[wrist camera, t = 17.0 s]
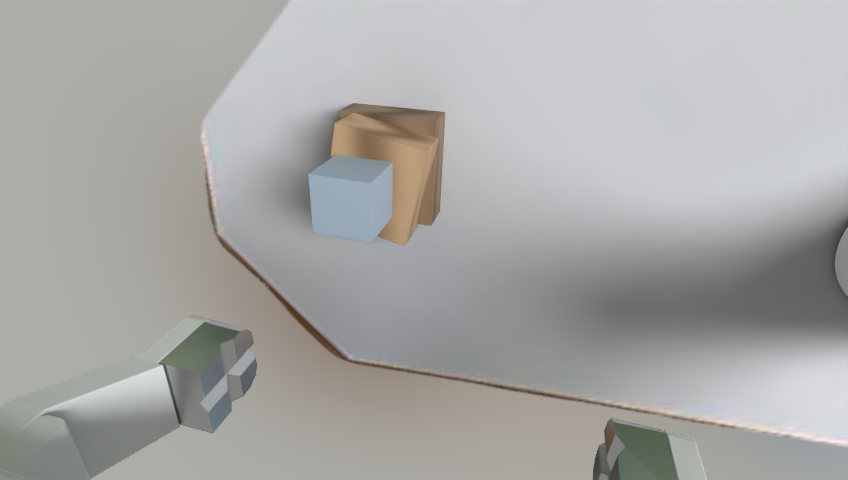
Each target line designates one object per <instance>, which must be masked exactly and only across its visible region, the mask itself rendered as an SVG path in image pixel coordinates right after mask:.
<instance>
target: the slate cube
mask: <svg viewBox="0 0 848 480" xmlns="http://www.w3.org/2000/svg"><path fill="white" fill-rule="evenodd" d="M308 177H309V189H310V202H311V215H312V227H313V233H317V234H323V235H328V236H334V237H339V238H345V239H351V240H356V241H362V242H367V243H372V242H373V240H374V239H375V238H376V237H377V235H378V234H379V233H380V232H381V230H382V229H383V228H384V227H385V225H386V224H387V223H388V222H389V220H390V219H391V218H392V194H393V162H389V161H381V160H374V159H367V158H360V157H352V156H345V155H338V154H337V155H335V156H334V157H332V158H331V159H329V160H328V161H326V162H325V163H323V164H322V165H321V166H319V167H318V168H316V169H315V170H313V171H312V172H310V173H309V174H308Z"/></svg>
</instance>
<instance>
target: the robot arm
mask: <svg viewBox="0 0 848 480" xmlns="http://www.w3.org/2000/svg"><path fill="white" fill-rule="evenodd" d="M835 272H836V277H837V280H838V282H839V285H840V287H841V288H842V290H843V292H844V293H845V294H846V295H847V297H848V227H847V228H846V230H845V232H844V233H843V235H842V237H841V239H840V242H839V244H838V247H837V251H836V256H835ZM252 345H253V337H252V332H251V331H249V330H247V329H243V328H240V327H236V326H232V325H229V324H225V323H221V322H218V321H214V320H209V319H205V318H202V317H198V316H194V315H193V316H189V317H186V318H185V319H184V320H183V321H181V322H180V323H179V324H178V325H177V326H175V327H174V328H173V329H172V330H171V331H169V332H168V333H167V334H166V335H165V336H163V337H162V338H161V339H160V340H159V341H157V342H156V343H155V344H154V345H153V346H151V347H150V348H149V349H148V350H147V351H145V352H144V353H143V354H142V355H141V356H139V357H138V358H136V357H129V358H127V359H124V360H121V361H118V362H115V363H112V364H109V365H107V366H104V367H101V368H98V369H95V370H92V371H90V372H87V373H84V374H81V375H78V376H76V377H73V378H70V379H67V380H64V381H61V382H59V383H56V384H53V385H50V386H47V387H44V388H42V389H39V390H36V391H33V392H30V393H28V394H25V395H22V396H19V397H16V398H14V399H11V400H9V401H7V402H6V403H5V404H3V405H2V406H0V480H91V478H92V477H94V476H96V475H98V474H99V473H101V472H103V471H104V470H106V469H108V468H109V467H111V466H113V465H115V464H117V463H118V462H120V461H122V460H123V459H125V458H127V457H129V456H130V455H132V454H134V453H135V452H137V451H139V450H141V449H142V448H144V447H146V446H148V445H149V444H151V443H153V442H154V441H156V440H158V439H159V438H161V437H163V436H164V435H166V434H168V433H170V432H171V431H173V430H175V429H177V428H178V427H179V426H180V425H184V426H187V427H191V428H195V429H198V430H202V431H206V432H210V433H214V431H215V430H216V429H217V428H218V427H219V425H220V424H221V423H222V422H223V421H224V419H225V418H226V417H227V416H228V414H229V413H230V412H231V411H232V410H231V409H232V408H231V407H232V401H234V400H237V399H239V398H240V397H243V396H244V395H245V393H246V392H247V391H248V390H249V388H250V387H251V385H252V382H253V380H254V378H255V376H256V369H257V362H256V357H255V356H254V354H253V353H252V352H251V351H250V349H249V348H250V347H251V346H252ZM179 424H180V425H179ZM604 432H605V443H603V444H601V445H599V447H598V450H597V454H596V457H595V463H594V469H593V480H707V478H706V475H705V471H704V468H703V465H702V461H701V458H700V454H699V451H698V448H697V445H696V442H695V440H694V439H693V438H692V437H691V436H687V435H682V434H678V433H674V432H670V431H665V430H664V431H663V430H661V429H656V428H652V427H648V426H643V425H639V424H635V423H631V422H627V421H622V420H618V419H614V418H610V420H609V421H608V422H607V425H606V428H605V431H604Z"/></svg>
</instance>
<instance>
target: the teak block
mask: <svg viewBox="0 0 848 480" xmlns="http://www.w3.org/2000/svg"><path fill="white" fill-rule="evenodd" d="M437 143H438V138H435V137H431V136H428V135H425V134H422V133H418V132H415V131H412V130H409V129H405V128H402V127H399V126H395V125H392V124H389V123H386V122H382V121H379V120H376V119H372V118H369V117H366V116H363V115H359V114H356V113H352V114H350V115H349V116H347V117H345V118H343V119H341V120H339V121H338V122H336V123H334V132H333V140H332V148H331V156H330V159H331V158H332V157H334V156H335V155H337V154H338V155H345V156H352V157H360V158H367V159H374V160H381V161H389V162H393V194H392V218H391V219H390V220H389V222H388V223H387V224H386V225H385V227H384V228H383V229H382V230H381V232H380V233H379V234H378V235H377V236H378V237H381V238H384V239H387V240H390V241H392V242H395V243H398V244H401V245H404V246H405V245H406V243H407V241H408V240H409V238H410V237H411V235H412V234H413V232H414V231H415V229H416V228H417V225H418V221H419V217H420V213H421V209H422V204H423V200H424V196H425V192H426V188H427V184H428V180H429V176H430V172H431V167H432V163H433V159H434V155H435V151H436V147H437Z"/></svg>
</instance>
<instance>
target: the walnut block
mask: <svg viewBox="0 0 848 480" xmlns="http://www.w3.org/2000/svg"><path fill="white" fill-rule="evenodd" d="M352 113H356V114H359V115H363V116H366V117H369V118H372V119H376V120H379V121H382V122H386V123H389V124H392V125H395V126H399V127H402V128H405V129H409V130H412V131H415V132H418V133H422V134H425V135H428V136H431V137H435V138H438V143H437V147H436V151H435V155H434V159H433V163H432V167H431V172H430V176H429V180H428V184H427V188H426V192H425V196H424V200H423V204H422V209H421V213H420V217H419V221H418V224H424V225H430V226H431V225H432V223H433V221H434V220H435V218H436V216H437V215H438V213H439V211H440V196H441V178H442V160H443V142H444V124H445V112H438V111H428V110H418V109H408V108H398V107H387V106H377V105H367V104H357V103H354V104H352V105H350V106H348V107H346V108H344V109H342V110H340V111H339V120H341V119H343V118H345V117H347V116H349V115H350V114H352Z"/></svg>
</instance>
